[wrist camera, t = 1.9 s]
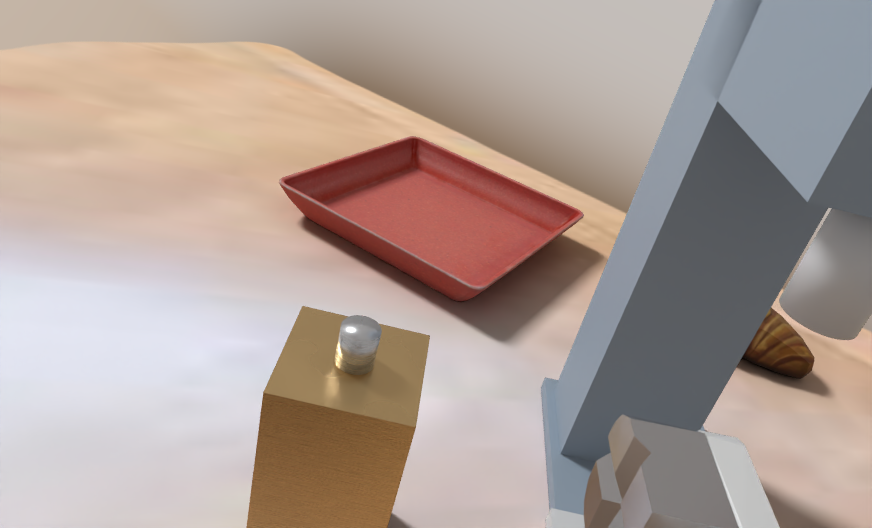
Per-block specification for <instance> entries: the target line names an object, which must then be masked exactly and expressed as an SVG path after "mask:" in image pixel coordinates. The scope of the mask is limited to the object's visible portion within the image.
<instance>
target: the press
mask: <svg viewBox="0 0 872 528" xmlns="http://www.w3.org/2000/svg"><path fill="white" fill-rule="evenodd" d="M828 208H832V209H831V211H830V213H829V214H828V216H827V218H826V219H825V221H824V223H823V225H822V226H821V228H820V230H819V231H818V233H817V235H816V237H815V238H814V240H813V242H812V244H811V245H810V247H809V249H808V250H807V252H806V254H805V256H804V257H803V259H802V261H801V263H800V264H799V266H798V268H797V269H796V271H795V273H794V274H793V276H792V278H791V280H790V282H789V283H788V285H787V287H786V288H785V290H784V292H783V293H782V295H781V297H780V299H779V302H780V305H781V307H782V308H783V310H784V311H785V312H786V313H787V314H788V315H789V316H790V317H791V318H792V319H794V320H795V321H797V322H798V323H799V324H801V325H803V326H804V327H806V328H808V329H810V330H812V331H814V332H816V333H819V334H821V335H824V336H827V337H830V338H834V339H839V340H851V339H854V338H855V337H856V336H857V335H858V334H859V332H860V331H861V329H862V328H863V326H864V325H865V323H866V322H867V320H868V319H869V317H870V316H871V314H872V0H715V1H714V4H713V6H712V9H711V11H710V13H709V16H708V19H707V21H706V23H705V25H704V28H703V30H702V33H701V35H700V38H699V40H698V43H697V45H696V47H695V50H694V52H693V55H692V57H691V60H690V62H689V65H688V67H687V69H686V72H685V74H684V77H683V79H682V81H681V84H680V86H679V89H678V91H677V94H676V96H675V98H674V101H673V103H672V106H671V108H670V111H669V113H668V115H667V118H666V120H665V123H664V125H663V128H662V130H661V132H660V135H659V137H658V140H657V142H656V145H655V147H654V149H653V152H652V154H651V157H650V159H649V162H648V164H647V167H646V169H645V171H644V174H643V176H642V179H641V181H640V184H639V186H638V188H637V191H636V193H635V196H634V198H633V200H632V203H631V205H630V208H629V210H628V213H627V215H626V217H625V220H624V222H623V225H622V227H621V230H620V232H619V234H618V237H617V239H616V242H615V244H614V247H613V249H612V251H611V254H610V256H609V259H608V261H607V264H606V266H605V268H604V271H603V273H602V276H601V278H600V281H599V283H598V285H597V288H596V290H595V293H594V295H593V298H592V300H591V302H590V305H589V307H588V310H587V312H586V315H585V317H584V320H583V322H582V324H581V327H580V329H579V332H578V334H577V337H576V339H575V341H574V344H573V346H572V349H571V351H570V354H569V356H568V358H567V361H566V363H565V366H564V368H563V371H562V373H561V375H560V378H559V380H554V379H549V378H545V379H544V381H543V384H542V387H541V393H542V408H543V422H544V436H545V451H546V465H547V479H548V494H549V508H550V511H549V514H548V516H547V518H546V520H545V522H546V528H585V523H584V498H585V493H586V488H587V483H588V479H589V476H590V474H591V472H592V469H593V467H594V465H595V462H596V460H598V459H600V458H602V457H604V456H605V455H607V454H609V453H611V451H610V445H609V439H608V435H609V433H610V431H611V429H612V427H613V425H614V423H615V421H616V420H617V419H618V418H619V417H620V416H621V415H622V414H624V415H628V416H633V417H637V418H642V419H646V420H651V421H655V422H660V423H664V424H669V425H673V426H678V427H682V428H687V429H691V430H695V431H698V430H701V431H705V430H704V427H703V424H704V422H705V420H706V419H707V417H708V415H709V413H710V412H711V410H712V408H713V407H714V405H715V403H716V401H717V400H718V398H719V396H720V394H721V393H722V391H723V389H724V387H725V386H726V384H727V382H728V381H729V379H730V377H731V375H732V374H733V372H734V370H735V368H736V367H737V365H738V363H739V362H740V360H741V358H742V356H743V355H744V353H745V351H746V349H747V348H748V346H749V344H750V342H751V341H752V339H753V337H754V336H755V334H756V332H757V330H758V329H759V327H760V325H761V323H762V322H763V320H764V318H765V317H766V315H767V313H768V311H769V310H770V308H771V306H772V304H773V303H774V301H775V299H776V298H777V296H778V294H779V292H780V291H781V289H782V287H783V285H784V283H785V282H786V280H787V278H788V277H789V275H790V273H791V272H792V270H793V268H794V266H795V265H796V263H797V261H798V259H799V258H800V256H801V254H802V253H803V251H804V249H805V247H806V246H807V244H808V242H809V240H810V239H811V237H812V235H813V234H814V232H815V230H816V228H817V226H818V225H819V223H820V221H821V220H822V218H823V216H824V214H825V213H826V211H827V209H828Z"/></svg>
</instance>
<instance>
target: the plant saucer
mask: <svg viewBox="0 0 872 528" xmlns="http://www.w3.org/2000/svg"><path fill="white" fill-rule="evenodd" d="M279 184H280V185H281V187H282V188H283V190H284V191H285V193H286V194H287V196H288V197H289V198H290V199H291V201H292V202H293V203H294V204H295V205H296V206H297V207H298V208H299V210H300V211H301V212H302V213H303V214H304V215H305V216H306V217H307V218H308V219H310V220H312V221H313V222H315V223H317V224H319V225H320V226H322V227H324V228H326V229H328V230H329V231H331V232H333V233H335V234H337V235H338V236H340V237H342V238H344V239H346V240H348V241H349V242H351V243H353V244H355V245H356V246H358V247H360V248H362V249H364V250H365V251H367V252H369V253H371V254H373V255H374V256H376V257H378V258H380V259H381V260H383V261H385V262H387V263H389V264H390V265H392V266H394V267H396V268H397V269H399V270H401V271H403V272H405V273H407V274H408V275H410V276H412V277H413V278H415V279H417V280H419V281H421V282H422V283H424V284H426V285H428V286H429V287H431V288H433V289H435V290H436V291H438V292H440V293H442V294H444V295H445V296H447V297H449V298H451V299H453V300H455V301H466V300H468V299H471V298H473V297H475V296H476V295H478V294H480V293H481V292H482V291H484V290H485V289H487V288H488V287H489V286H491V285H492V284H494V283H495V282H496V281H498V280H499V279H501V278H502V277H503V276H505V275H506V274H508V273H509V272H510V271H512V270H513V269H514V268H516V267H517V266H518V265H520V264H521V263H523V262H524V261H525V260H527V259H528V258H529V257H531V256H532V255H533V254H535V253H536V252H537V251H539V250H540V249H542V248H543V247H544V246H546V245H547V244H548V243H550V242H551V241H553V240H554V239H555V238H557V237H558V236H559V235H561V234H562V233H564V232H565V231H566V230H568V229H569V228H570V227H572V226H573V225H574V224H576V223H577V222H578V221H579V220H580V219H582V218H583V216H584V214H583V213H582V212H581V211H580V210H578V209H576V208H574V207H572V206H570V205H568V204H565V203H563V202H561V201H559V200H556V199H554V198H552V197H550V196H548V195H545V194H543V193H541V192H539V191H537V190H534V189H532V188H530V187H528V186H526V185H524V184H521V183H519V182H517V181H515V180H513V179H510V178H508V177H506V176H504V175H502V174H500V173H497V172H495V171H493V170H491V169H488V168H486V167H484V166H482V165H480V164H477V163H475V162H473V161H471V160H468V159H466V158H464V157H462V156H460V155H458V154H455V153H453V152H451V151H449V150H447V149H444V148H442V147H440V146H438V145H436V144H434V143H431V142H429V141H427V140H424V139H422V138H419V137H415V136H410V137H407V138H403V139H401V140H397V141H394V142H391V143H388V144H385V145H382V146H379V147H375V148H372V149H369V150H367V151H363V152H360V153H357V154H354V155H351V156H348V157H344V158H341V159H339V160H335V161H333V162H329V163H326V164H323V165H320V166H317V167H314V168H311V169H308V170H305V171H302V172H298V173H295V174H292V175H289V176H286V177H283V178H281V179H280V181H279Z"/></svg>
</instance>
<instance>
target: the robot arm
mask: <svg viewBox="0 0 872 528" xmlns="http://www.w3.org/2000/svg"><path fill="white" fill-rule="evenodd" d="M608 439H609V445H610V451H611V453H609V454H607V455H605V456H604V457H602V458H600V459H598V460H596V462H595V465H594V467H593V469H592V472H591V474H590V476H589V479H588V483H587V488H586V493H585V498H584V523H585V528H780V527H779V524H778V522H777V519H776V517H775V515H774V512H773V510H772V508H771V505H770V503H769V501H768V498H767V496H766V494H765V491H764V489H763V487H762V484H761V482H760V479H759V477H758V475H757V472H756V470H755V468H754V465H753V463H752V461H751V458H750V456H749V454H748V451H747V449H746V447H745V445H744V444H743V443H742V442H741V441H740V440H739V439H738V438H735V437H731V436H726V435H721V434H716V433H711V432H706V431H701V430H698V431H695V430H691V429H687V428H682V427H678V426H673V425H669V424H664V423H660V422H655V421H651V420H646V419H642V418H637V417H633V416H628V415H624V414H622V415H621V416H620V417H619V418H618V419H617V420H616V421H615V423H614V425H613V427H612V429H611V431H610V433H609V435H608Z"/></svg>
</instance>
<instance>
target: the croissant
mask: <svg viewBox="0 0 872 528" xmlns="http://www.w3.org/2000/svg"><path fill="white" fill-rule="evenodd" d="M742 357H743V358H745V359H747V360H748V361H750V362H752V363H754V364H757V365H759V366H762V367H764V368H767V369H769V370H772V371H775V372H777V373H780V374H784V375H788V376H791V377H795V378H799V379H801V378H803V377H804V376H805V375H807V374H808V373H809V372H811V371H812V367H813V364H814V356H813V355H812V353H811V351H810V350H809V348H808V347H807V345H806V344H805V342H804V340H803V339H802V337H801V336H800V335H799V334H798V333H797V332H796V331H795V330H794V329H793V328H792V327H791V326H790V325H789V323H788V322H787V321H786V320H785V319H784V318H783V317H782V316H781V315H780V314H778V313H777V312H776V311H775V310H773V309H772V308H770V310H769V311H768V313H767V315H766V317H765V318H764V320H763V322H762V323H761V325H760V327H759V329H758V330H757V332H756V334H755V336H754V337H753V339H752V341H751V342H750V344H749V346H748V348H747V349H746V351H745V353H744V355H743V356H742Z"/></svg>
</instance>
